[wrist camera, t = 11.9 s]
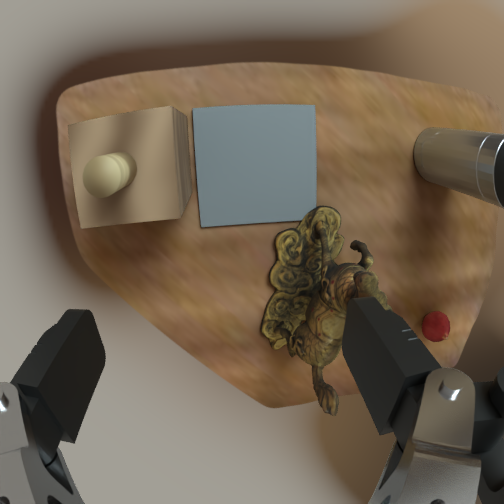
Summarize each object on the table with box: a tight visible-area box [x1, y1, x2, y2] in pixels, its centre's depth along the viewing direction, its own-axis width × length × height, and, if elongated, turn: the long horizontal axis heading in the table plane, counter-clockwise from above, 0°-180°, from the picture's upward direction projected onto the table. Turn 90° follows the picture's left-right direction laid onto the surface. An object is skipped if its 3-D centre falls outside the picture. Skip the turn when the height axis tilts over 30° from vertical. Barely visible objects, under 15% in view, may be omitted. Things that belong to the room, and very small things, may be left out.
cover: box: [68, 106, 192, 229], centre depth 29 cm, size 10×10×19 cm
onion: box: [422, 311, 450, 342], centre depth 49 cm, size 6×6×8 cm
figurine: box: [261, 206, 393, 416], centre depth 37 cm, size 13×25×20 cm, turn 162°
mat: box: [193, 105, 316, 227], centre depth 39 cm, size 16×16×1 cm
